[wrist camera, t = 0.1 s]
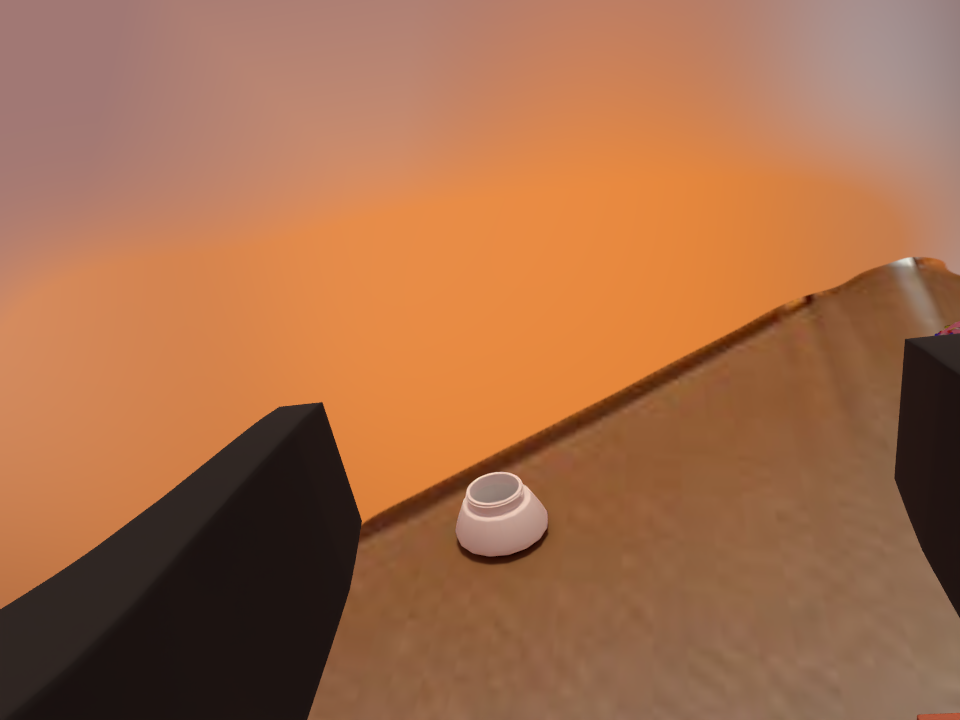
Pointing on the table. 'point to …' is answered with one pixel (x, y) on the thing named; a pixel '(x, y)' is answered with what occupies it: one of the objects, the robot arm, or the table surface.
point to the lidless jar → (500, 516)
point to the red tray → (939, 716)
